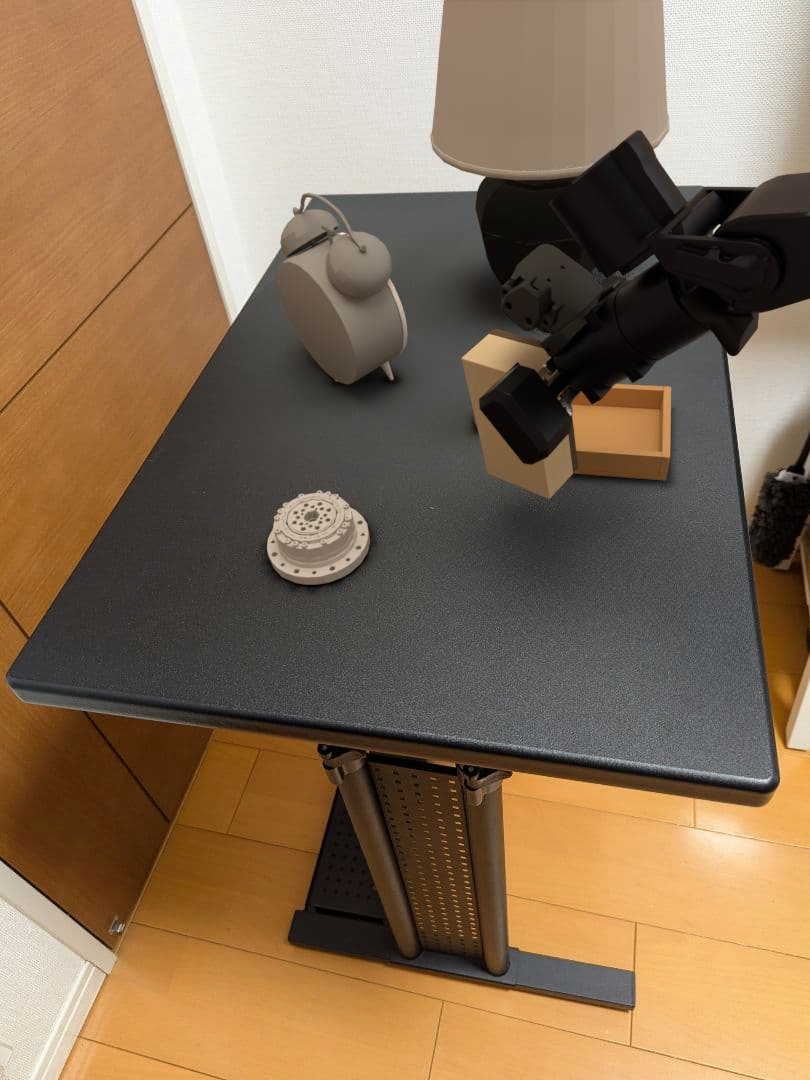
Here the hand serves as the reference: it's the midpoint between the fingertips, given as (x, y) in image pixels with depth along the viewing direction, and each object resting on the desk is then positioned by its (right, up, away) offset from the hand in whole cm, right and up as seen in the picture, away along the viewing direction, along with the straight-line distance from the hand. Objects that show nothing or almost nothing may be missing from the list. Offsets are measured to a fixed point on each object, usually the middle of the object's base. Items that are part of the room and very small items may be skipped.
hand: (508, 404), depth 66 cm
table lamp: (+10, +21, +38) cm, 44 cm away
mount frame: (+13, -1, +16) cm, 21 cm away
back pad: (+3, -5, +5) cm, 7 cm away
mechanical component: (-17, -13, +10) cm, 23 cm away
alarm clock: (-15, +9, +30) cm, 35 cm away
